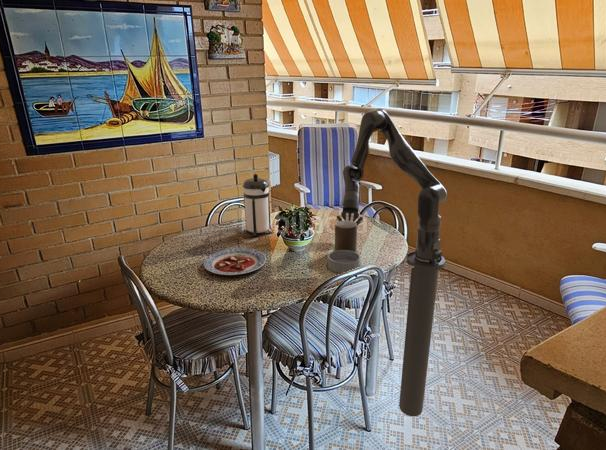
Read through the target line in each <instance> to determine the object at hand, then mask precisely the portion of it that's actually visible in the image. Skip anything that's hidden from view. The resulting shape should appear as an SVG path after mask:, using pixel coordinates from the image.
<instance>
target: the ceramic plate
mask: <svg viewBox="0 0 606 450" xmlns="http://www.w3.org/2000/svg"><path fill="white" fill-rule="evenodd" d="M266 262H267V256H266V255H265V254H264V253H263V252H261V251H259V250H256V249H253V248H245V247H244V248H242V247H241V248H240V247H238V248H235V247H234V248H228V249H227V248H226V249H223V250H219V251H217V252H214V253H212V254H210V255H209V256H207V257H206V258H205V259H204V261H203V267H204V269H206V270H207V271H208V272H210V273H212V274H215V275H221V276H238V275H244V274H249V273H251V272H255V271H257V270H259V269H260V268H262V267H263V266H264V265H265V264H266Z"/></svg>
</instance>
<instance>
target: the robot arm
mask: <svg viewBox="0 0 606 450" xmlns="http://www.w3.org/2000/svg"><path fill="white" fill-rule="evenodd" d="M378 131H380V133H382V134H383V136H384V137H385V139H386V141H387V143H388V151H389V157H390V159H391V160H392V161H393V163H394V164H395V165H396V166H397V168H398V169H399V170H400V171H401V172H402V173H404V174H405V175H407V176H408V177H410V178H411V179H412V180H414V181H415V182H416V183H417V184H418V185H419V187H420V188H421V189H420V190H419V193H418V197H417V209H416V210H417V211H416V212H417V214H416V215H417V217H418V221H417V222H418V223H417V232H416V233H417V234H416V243H415V244H416V245H415V250H414V252H416V253H415V259H416V260H418V261H420V262H424V263H431V264H432V263H434V262H436V261H437V260H438V261H437V263H439V262H440V261H441V260H442V257H443V250H441V243H442V239H440V235H441V227H442V216H441V215H440V214H439V207H440V205H443V204H444V203H446V201H447V198H448V193H447V189H446V188H445V187H444V186H443V184H442V183H441V182H440V181H439V180H438V179H437V178H436V177H435V176H434V175H433V173H431V172H430V171H429V168H427V166H426V165H425V164H424V163H423V161H422V160H421V159H420V157H419V156H418V154H417V153H416V152H415V150H414V149H413V148H412V146H411V145H410V144H409V143H408V142H407V140H406V139H405V138H404V136H403V135H402V134H401V132H400V131H399V130H398V128H397V127H396V125H395V123H394V122H393V120H392V118H391V117H390V115H389V113H388V112H387V111H386V110H384V109H383V108H374V109H372V110H369V111H366V112H365V113H363V115H362V117H361V120H360V124H359V131H358V136H357V141H356V145H355V148H354V152H353V154H352V156H351V159H350V163H351V165H350V164H349V165H348V164H347V165H346V166H344V167H343V169H342V178H343V182H344V194H343V200H342V202H343V203H342V211H341V213H340V215H336V220H337V222H339V221H353V222H355V223H357V227H359V225H360V224H361V223H362V222H364V217H363V216H360V213H359V209H360V208H359V207H360V206H359V205H360V187H361V186H360V183H358V182H361V181H363V180H364V178H365V166H366V163H367V161H368V159H369V156H370V151H371V150H370V149H371V148H370V139H371V137H372V135H373V133H376V132H378ZM441 256H442V257H441ZM439 258H440V259H439Z"/></svg>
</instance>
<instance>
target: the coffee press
mask: <svg viewBox="0 0 606 450" xmlns="http://www.w3.org/2000/svg"><path fill="white" fill-rule="evenodd" d="M242 188H243V207H244V217H245V218H244V219H245V228H244V229H243V231H244V232H245V233H247V232H249V233H252V235H253V238H257V236H258V234H262V233H265V232H269V233H270V234H272V233H273V232H274V230H273V228H272V226H271V205H270V204H271V203H270V190H269V188H270V183H269V181H268V180H267V179H265V178H262V177H259V175H258V174H257V173H254V174H253V176H252V177H251V178H247V179H246V180H244V182H243V184H242Z"/></svg>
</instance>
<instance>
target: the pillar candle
mask: <svg viewBox="0 0 606 450" xmlns="http://www.w3.org/2000/svg"><path fill="white" fill-rule="evenodd" d="M355 222H356V221H354V222H353V221H345V220H342V221H336V222H335V223H334V251H337V250H349V251H354V252H356V253H357V245H358V244H357V243H358V241H357V240H358V226H357V223H355Z"/></svg>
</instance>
